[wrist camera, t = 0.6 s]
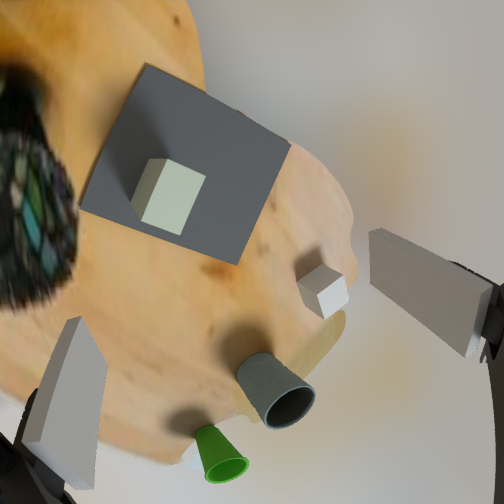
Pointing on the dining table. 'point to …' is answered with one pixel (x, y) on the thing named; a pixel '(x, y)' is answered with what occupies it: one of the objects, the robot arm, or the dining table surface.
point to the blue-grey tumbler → (274, 390)
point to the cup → (219, 456)
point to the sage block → (166, 194)
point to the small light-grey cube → (323, 291)
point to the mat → (188, 164)
